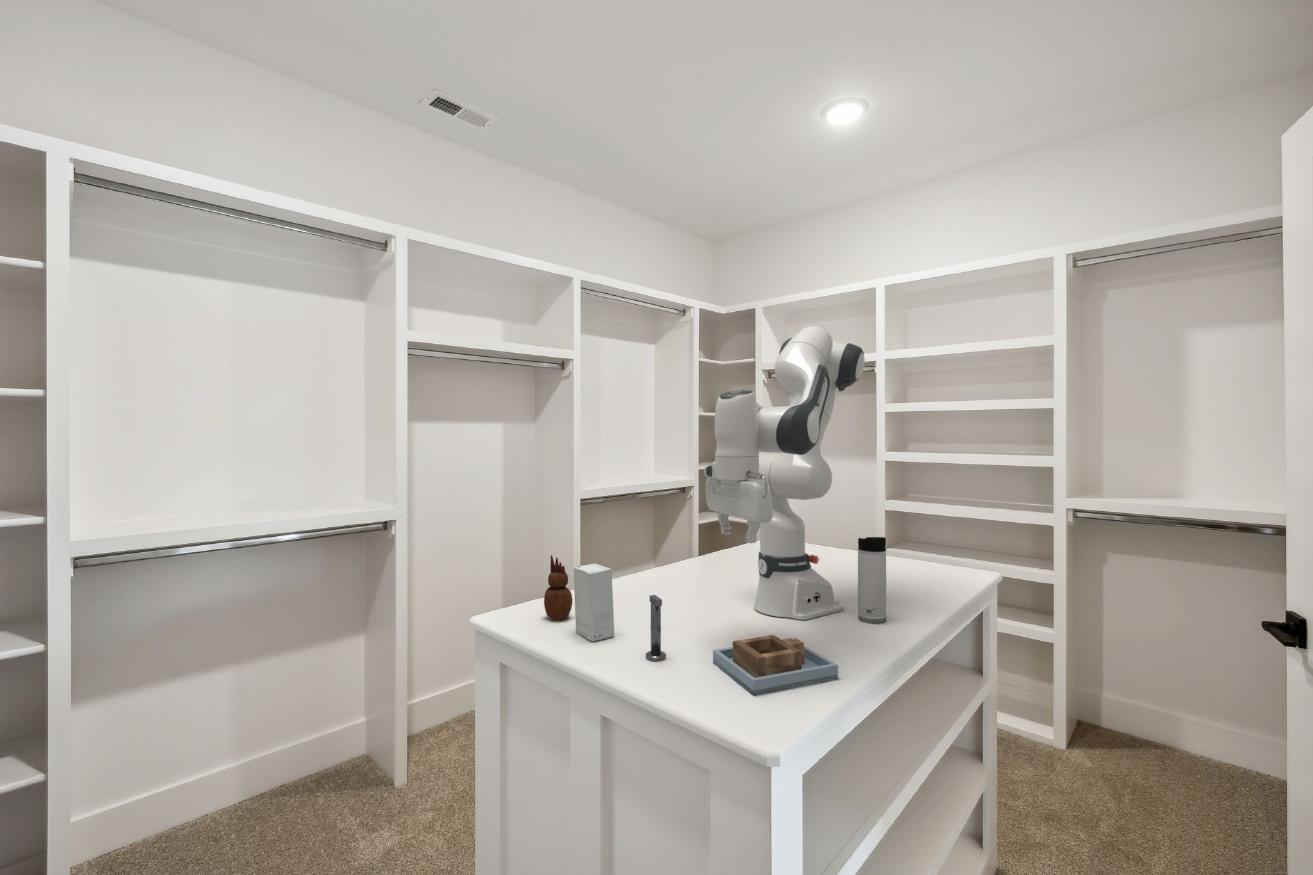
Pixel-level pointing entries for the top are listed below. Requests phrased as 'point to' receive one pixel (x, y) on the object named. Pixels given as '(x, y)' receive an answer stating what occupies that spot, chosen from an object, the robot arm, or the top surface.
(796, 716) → the top surface
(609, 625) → the skincare box
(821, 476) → the robot arm
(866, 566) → the travel mug
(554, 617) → the wooden figurine
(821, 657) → the slate-blue tray
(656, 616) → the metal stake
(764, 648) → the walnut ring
